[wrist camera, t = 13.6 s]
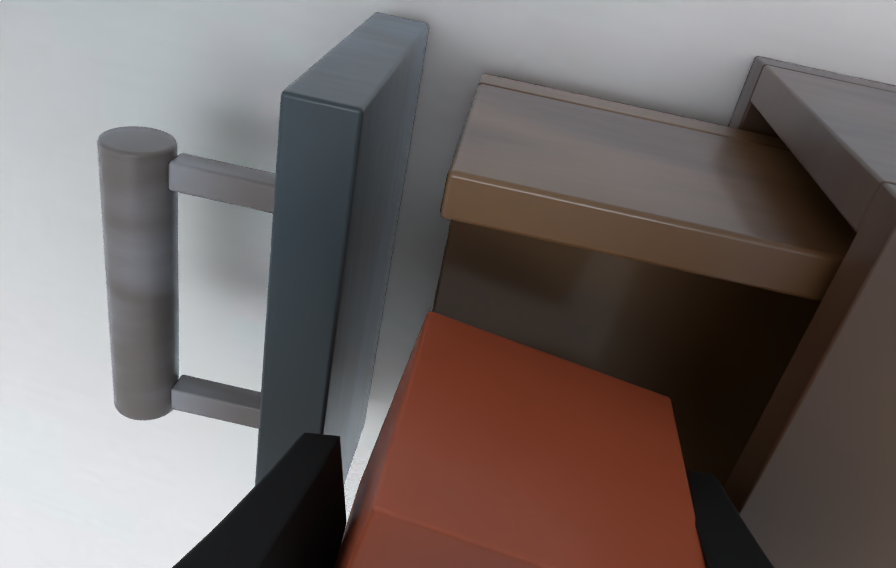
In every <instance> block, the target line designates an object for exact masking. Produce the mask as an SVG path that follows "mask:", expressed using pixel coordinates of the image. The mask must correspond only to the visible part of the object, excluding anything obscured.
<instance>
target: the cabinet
mask: <svg viewBox="0 0 896 568" xmlns="http://www.w3.org/2000/svg"><path fill="white" fill-rule="evenodd" d="M728 127H732V128H736V129H741V130H745V131H750V132H755V133H759V134H764V135H768V136H773V137H777V138H781V140H782V141H783V142H784V143H785V145H786V146H787V147H788V148H789V150H790V151H791V152H792V153H793V155H794V156H795V157H796V158H797V160H798V161H799V162H800V163H801V165H802V166H803V167H804V168H805V170H806V171H807V172H808V173H809V175H810V176H811V177H812V178H813V180H814V181H815V182H816V183H817V185H818V186H819V187H820V188H821V189H822V191H823V192H824V193H825V194H826V196H827V197H828V198H829V199H830V201H831V202H832V203H833V204H834V206H835V207H836V208H837V209H838V211H839V212H840V213H841V214H842V216H843V217H844V218H845V219H846V221H847V222H848V223H849V224H850V226H851V227H852V228H853V229H854V231H855V232H857V234H856V236H855V238H854V240H853V242H852V244H851V246H850V248H849V250H848V252H847V254H846V255H845V257H844V259H843V261H842V263H841V265H840V267H839V269H838V271H837V273H836V275H835V276H834V278H833V280H832V282H831V284H830V286H829V288H828V290H827V292H826V294H825V296H824V297H823V299H822V301H821V303H820V305H819V307H818V309H817V311H816V313H815V315H814V317H813V318H812V320H811V322H810V324H809V326H808V328H807V330H806V332H805V334H804V336H803V338H802V339H801V341H800V343H799V345H798V347H797V349H796V351H795V353H794V355H793V357H792V359H791V361H790V362H789V364H788V366H787V368H786V370H785V372H784V374H783V376H782V378H781V380H780V382H779V383H778V385H777V387H776V389H775V391H774V393H773V395H772V397H771V399H770V401H769V403H768V404H767V406H766V408H765V410H764V412H763V414H762V416H761V418H760V420H759V422H758V424H757V425H756V427H755V429H754V431H753V433H752V435H751V437H750V439H749V441H748V443H747V445H746V446H745V448H744V450H743V452H742V454H741V456H740V458H739V460H738V462H737V464H736V466H735V468H734V469H733V471H732V473H731V475H730V477H729V479H728V481H727V483H726V485H725V487H724V490H725V492H726V493H727V495H728V497H729V498H730V500H731V502H732V503H733V505H734V507H735V508H736V510H737V511H738V513H739V515H740V516H741V518H742V519H743V521H744V523H745V524H746V526H747V527H748V529H749V530H750V532H751V533H752V535H753V536H754V538H755V540H756V541H757V543H758V544H759V546H760V547H761V549H762V550H763V552H764V553H765V555H766V556H767V558H768V559H769V561H770V562H771V563H772V565H773V566H774V568H896V86H893V85H888V84H884V83H879V82H875V81H870V80H865V79H861V78H856V77H851V76H847V75H842V74H838V73H833V72H828V71H824V70H819V69H814V68H810V67H805V66H800V65H796V64H791V63H787V62H782V61H777V60H773V59H768V58H763V57H756V58H755V59H754V62H753V64H752V67H751V70H750V72H749V75H748V77H747V80H746V82H745V85H744V88H743V90H742V93H741V95H740V98H739V100H738V103H737V105H736V108H735V111H734V113H733V116H732V118H731V121H730V123H729V126H728Z"/></svg>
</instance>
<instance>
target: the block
mask: <svg viewBox="0 0 896 568" xmlns="http://www.w3.org/2000/svg"><path fill="white" fill-rule="evenodd" d="M334 568H706V565H705V560H704V556H703V551H702V548H701V544H700V541H699V537H698V534H697V530H696V527H695V513H694V508H693V503H692V499H691V494H690V489H689V484H688V480H687V475H686V470H685V465H684V460H683V456H682V451H681V446H680V441H679V437H678V432H677V427H676V422H675V418H674V413H673V408H672V403H671V399H670V398H669V397H667V396H664V395H661V394H658V393H656V392H653V391H650V390H647V389H645V388H642V387H639V386H636V385H634V384H631V383H628V382H625V381H623V380H620V379H617V378H614V377H612V376H609V375H606V374H603V373H600V372H598V371H595V370H592V369H589V368H587V367H584V366H581V365H578V364H576V363H573V362H570V361H567V360H565V359H562V358H559V357H556V356H554V355H551V354H548V353H545V352H543V351H540V350H537V349H534V348H531V347H529V346H526V345H523V344H520V343H518V342H515V341H512V340H509V339H507V338H504V337H501V336H498V335H496V334H493V333H490V332H487V331H485V330H482V329H479V328H476V327H474V326H471V325H468V324H465V323H463V322H460V321H457V320H454V319H451V318H449V317H446V316H443V315H440V314H438V313H435V312H432V311H429V312H428V313H427V315H426V317H425V320H424V322H423V325H422V327H421V330H420V332H419V335H418V337H417V340H416V343H415V345H414V348H413V350H412V353H411V355H410V358H409V360H408V363H407V365H406V368H405V370H404V373H403V375H402V378H401V380H400V383H399V385H398V388H397V390H396V393H395V396H394V398H393V401H392V403H391V406H390V408H389V411H388V413H387V416H386V418H385V421H384V423H383V426H382V428H381V431H380V433H379V436H378V438H377V441H376V443H375V446H374V449H373V451H372V454H371V456H370V459H369V461H368V464H367V466H366V469H365V471H364V474H363V476H362V479H361V481H360V484H359V487H358V490H357V493H356V496H355V500H354V503H353V506H352V509H351V512H350V515H349V519H348V522H347V525H346V528H345V531H344V535H343V540H342V544H341V547H340V550H339V553H338V556H337V560H336V563H335V566H334Z"/></svg>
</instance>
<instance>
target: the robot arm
mask: <svg viewBox="0 0 896 568" xmlns="http://www.w3.org/2000/svg"><path fill="white" fill-rule="evenodd" d="M686 475H687V480H688V484H689V489H690V494H691V499H692V503H693V508H694V513H695V527H696V530H697V534H698V537H699V541H700V544H701V548H702V551H703V556H704V560H705V565H706V568H774V566H773V565H772V563H771V562H770V561H769V559H768V558H767V556H766V555H765V553H764V552H763V550H762V549H761V547H760V546H759V544H758V543H757V541H756V540H755V538H754V536H753V535H752V533H751V532H750V530H749V529H748V527H747V526H746V524H745V523H744V521H743V519H742V518H741V516H740V515H739V513H738V511H737V510H736V508H735V507H734V505H733V503H732V502H731V500H730V498H729V497H728V495H727V493H726V492H725V490H724V488H723V487H722V485H721V483H720V482H719V480H718V479H717V478H716V476H715V475H714V474H713V473H704V472H694V471H686ZM345 527H346V510H345V496H344V483H343V469H342V455H341V442H340V436H335V435H325V434H315V433H304V434H302V435H301V436H300V437H299V438H298V439H297V440H296V441H295V442H294V443H293V445H292V446H291V447H290V448H289V449H288V450H287V451H286V453H285V454H284V455H283V456H282V457H281V458H280V459H279V461H278V462H277V463H276V464H275V465H274V466H273V467H272V468H271V470H270V471H269V472H268V473H267V474H266V475H265V476H264V477H263V478H262V479H261V481H260V482H259V483H258V484H257V485H256V486H255V487H254V488H253V489H252V490H251V491H250V492H249V493H248V494H247V495H246V497H245V498H244V499H243V500H242V501H241V502H240V503H239V504H238V505H237V506H236V507H235V508H234V509H233V510H232V511H231V512H230V513H229V514H228V515H227V516H226V517H225V518H224V519H223V520H222V521H221V522H220V523H219V524H218V525H217V526H216V527H215V528H214V529H213V530H212V531H211V532H210V533H209V534H208V535H207V536H206V537H205V538H203V539H202V540H201V541H200V542H199V543H198V544H197V545H196V546H195V547H194V548H193V549H192V550H191V551H190V552H189V553H187V554H186V555H185V556H184V557H183V558H182V559H181V560H180V561H179V562H178V563H177V564H176V565H174V566H173V567H172V568H334V566H335V563H336V560H337V556H338V553H339V550H340V547H341V544H342V540H343V535H344V531H345Z"/></svg>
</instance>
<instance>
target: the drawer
mask: <svg viewBox="0 0 896 568" xmlns="http://www.w3.org/2000/svg"><path fill="white" fill-rule="evenodd" d="M428 31H429V25H428V24H427V23H424V22H419V21H415V20H410V19H405V18H401V17H396V16H392V15H387V14H382V13H378V12H377V13H375V14H373V15H372V16H371V17H370V18H369V19H367V20H366V21H365V22H364V23H363V24H362V25H360V26H359V27H358V28H357V29H356V30H354V31H353V32H352V33H351V34H350V35H349V36H347V37H346V38H345V39H344V40H343V41H341V42H340V43H339V44H338V45H337V46H336V47H334V48H333V49H332V50H331V51H330V52H328V53H327V54H326V55H325V56H324V57H323V58H321V59H320V60H319V61H318V62H317V63H316V64H314V65H313V66H312V67H311V68H310V69H308V70H307V71H306V72H305V73H304V74H303V75H301V76H300V77H299V78H298V79H297V80H295V81H294V82H293V83H292V84H291V85H290V86H288V87H287V88H286V89H285V90H284V91H283V92H282V94H281V102H280V117H279V132H278V147H277V162H276V174H274V173H270V172H265V171H261V170H256V169H252V168H247V167H243V166H238V165H234V164H229V163H225V162H220V161H216V160H211V159H207V158H202V157H198V156H193V155H189V154H184V153H182V154H179V155H178V156H177V142H176V140H175V138H174V137H173V136H172V135H170V134H168V133H166V132H164V131H161V130H157V129H153V128H147V127H136V126H131V127H119V128H114V129H110V130H107V131H105V132H103V133H102V134H101V135H100V136H99V138H98V140H97V146H98V161H99V176H100V192H101V207H102V222H103V238H104V253H105V268H106V284H107V299H108V314H109V329H110V345H111V360H112V375H113V391H114V404H115V407H116V408H117V410H118V411H119V412H120V413H121V414H122V415H124V416H125V417H128V418H130V419H134V420H152V419H157V418H160V417H162V416H165V415H166V414H168V413H170V412H171V411H172V410H173V409H175V410H179V411H184V412H188V413H192V414H197V415H201V416H205V417H210V418H214V419H219V420H223V421H227V422H232V423H236V424H241V425H245V426H249V427H254V428H258V429H259V434H258V449H257V464H256V479H255V486H256V485H257V484H258V483H259V482H260V481H261V479H262V478H263V477H264V476H265V475H266V474H267V473H268V472H269V471H270V470H271V468H272V467H273V466H274V465H275V464H276V463H277V462H278V461H279V459H280V458H281V457H282V456H283V455H284V454H285V453H286V451H287V450H288V449H289V448H290V447H291V446H292V445H293V443H294V442H295V441H296V440H297V439H298V438H299V437H300V436H301V435H302V434H304V433H315V434H325V435H335V436H340V442H341V455H342V469H343V483H345V480H346V477H347V474H348V471H349V468H350V465H351V462H352V459H353V456H354V453H355V450H356V447H357V444H358V441H359V439H360V436H361V433H362V430H363V427H364V424H365V417H366V411H367V405H368V399H369V393H370V387H371V381H372V374H373V368H374V362H375V356H376V350H377V344H378V338H379V331H380V325H381V319H382V313H383V307H384V301H385V295H386V288H387V282H388V276H389V270H390V264H391V258H392V252H393V245H394V239H395V233H396V227H397V221H398V215H399V209H400V202H401V196H402V190H403V184H404V178H405V172H406V166H407V160H408V153H409V147H410V141H411V135H412V129H413V123H414V117H415V110H416V104H417V98H418V92H419V86H420V80H421V74H422V67H423V61H424V55H425V49H426V43H427V37H428ZM178 192H180V193H184V194H189V195H193V196H198V197H202V198H207V199H211V200H216V201H220V202H225V203H229V204H234V205H238V206H243V207H247V208H252V209H256V210H261V211H265V212H270V213H273V223H272V238H271V253H270V268H269V283H268V298H267V313H266V328H265V343H264V358H263V373H262V389H261V392H257V391H253V390H248V389H244V388H239V387H235V386H231V385H226V384H222V383H217V382H213V381H209V380H204V379H200V378H195V377H191V376H187V375H182V376H181V377H180V378H179V301H178ZM440 212H441V216H442V217H444V218H446V219H451V221H450V226H449V231H448V236H447V241H446V245H445V250H444V255H443V260H442V265H441V270H440V275H439V280H438V285H437V290H436V294H435V299H434V304H433V309H432V312H435V313H438V314H440V315H443V316H446V317H449V318H451V319H454V320H457V321H460V322H463V323H465V324H468V325H471V326H474V327H476V328H479V329H482V330H485V331H487V332H490V333H493V334H496V335H498V336H501V337H504V338H507V339H509V340H512V341H515V342H518V343H520V344H523V345H526V346H529V347H531V348H534V349H537V350H540V351H543V352H545V353H548V354H551V355H554V356H556V357H559V358H562V359H565V360H567V361H570V362H573V363H576V364H578V365H581V366H584V367H587V368H589V369H592V370H595V371H598V372H600V373H603V374H606V375H609V376H612V377H614V378H617V379H620V380H623V381H625V382H628V383H631V384H634V385H636V386H639V387H642V388H645V389H647V390H650V391H653V392H656V393H658V394H661V395H664V396H667V397H669V398H670V399H671V403H672V408H673V413H674V418H675V422H676V427H677V432H678V437H679V441H680V446H681V451H682V456H683V460H684V465H685V470H686V471H694V472H704V473H713V474H714V475H715V476H716V478H717V479H718V480H719V482H720V483H721V485H722V487H723V488H724V487H725V485H726V483H727V481H728V479H729V477H730V475H731V473H732V471H733V469H734V468H735V466H736V464H737V462H738V460H739V458H740V456H741V454H742V452H743V450H744V448H745V446H746V445H747V443H748V441H749V439H750V437H751V435H752V433H753V431H754V429H755V427H756V425H757V424H758V422H759V420H760V418H761V416H762V414H763V412H764V410H765V408H766V406H767V404H768V403H769V401H770V399H771V397H772V395H773V393H774V391H775V389H776V387H777V385H778V383H779V382H780V380H781V378H782V376H783V374H784V372H785V370H786V368H787V366H788V364H789V362H790V361H791V359H792V357H793V355H794V353H795V351H796V349H797V347H798V345H799V343H800V341H801V339H802V338H803V336H804V334H805V332H806V330H807V328H808V326H809V324H810V322H811V320H812V318H813V317H814V315H815V313H816V311H817V309H818V307H819V305H820V303H821V301H822V299H823V297H824V296H825V294H826V292H827V290H828V288H829V286H830V284H831V282H832V280H833V278H834V276H835V275H836V273H837V271H838V269H839V267H840V265H841V263H842V261H843V259H844V257H845V255H846V254H847V252H848V250H849V248H850V246H851V244H852V242H853V240H854V238H855V236H856V234H857V232H855V231H854V229H853V228H852V227H851V226H850V224H849V223H848V222H847V221H846V219H845V218H844V217H843V216H842V214H841V213H840V212H839V211H838V209H837V208H836V207H835V206H834V204H833V203H832V202H831V201H830V199H829V198H828V197H827V196H826V194H825V193H824V192H823V191H822V189H821V188H820V187H819V186H818V185H817V183H816V182H815V181H814V180H813V178H812V177H811V176H810V175H809V173H808V172H807V171H806V170H805V168H804V167H803V166H802V165H801V163H800V162H799V161H798V160H797V158H796V157H795V156H794V155H793V153H792V152H791V151H790V150H789V148H788V147H787V146H786V145H785V143H784V142H783V141H782V140H781V138H777V137H773V136H768V135H764V134H759V133H755V132H750V131H745V130H741V129H736V128H732V127H727V126H722V125H718V124H713V123H709V122H704V121H699V120H695V119H690V118H686V117H681V116H677V115H672V114H667V113H663V112H658V111H654V110H649V109H644V108H640V107H635V106H631V105H626V104H622V103H617V102H612V101H608V100H603V99H599V98H594V97H589V96H585V95H580V94H576V93H571V92H566V91H562V90H557V89H553V88H548V87H544V86H539V85H534V84H530V83H525V82H521V81H516V80H511V79H507V78H502V77H498V76H493V75H489V74H482V76H481V78H480V81H479V84H478V88H477V90H476V93H475V96H474V99H473V102H472V105H471V107H470V110H469V113H468V116H467V119H466V122H465V125H464V128H463V131H462V133H461V136H460V139H459V142H458V145H457V148H456V151H455V154H454V156H453V159H452V162H451V165H450V168H449V171H448V174H447V178H446V184H445V189H444V194H443V199H442V204H441V209H440Z"/></svg>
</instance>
